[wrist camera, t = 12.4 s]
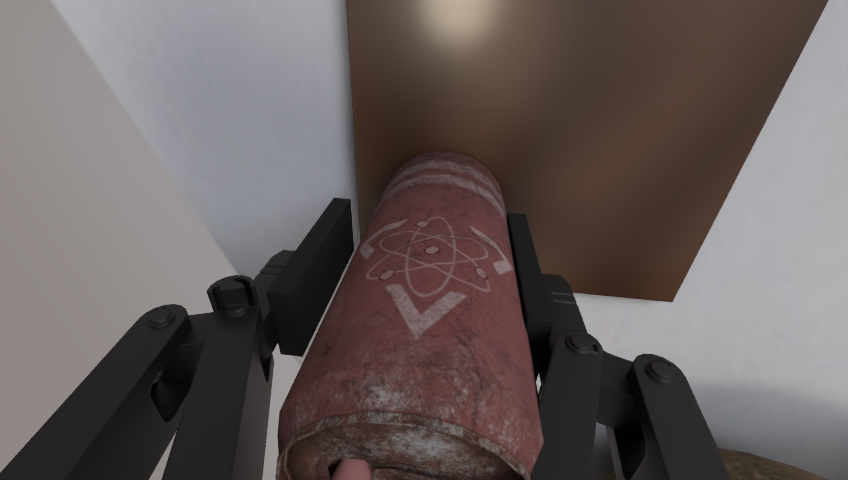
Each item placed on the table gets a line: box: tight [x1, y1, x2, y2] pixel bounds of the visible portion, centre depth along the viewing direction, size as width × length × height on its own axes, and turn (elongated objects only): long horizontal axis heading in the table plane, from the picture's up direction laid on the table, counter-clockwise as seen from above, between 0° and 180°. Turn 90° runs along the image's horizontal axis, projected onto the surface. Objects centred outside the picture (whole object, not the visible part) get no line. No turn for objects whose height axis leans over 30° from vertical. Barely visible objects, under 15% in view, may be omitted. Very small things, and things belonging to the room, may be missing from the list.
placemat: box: [346, 0, 828, 302], centre depth 17 cm, size 18×20×1 cm
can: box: [276, 151, 544, 480], centre depth 14 cm, size 6×6×14 cm
